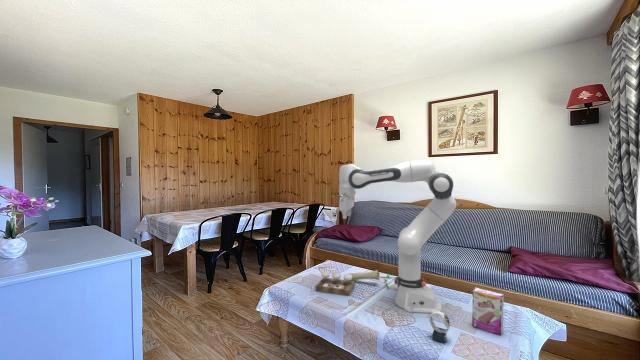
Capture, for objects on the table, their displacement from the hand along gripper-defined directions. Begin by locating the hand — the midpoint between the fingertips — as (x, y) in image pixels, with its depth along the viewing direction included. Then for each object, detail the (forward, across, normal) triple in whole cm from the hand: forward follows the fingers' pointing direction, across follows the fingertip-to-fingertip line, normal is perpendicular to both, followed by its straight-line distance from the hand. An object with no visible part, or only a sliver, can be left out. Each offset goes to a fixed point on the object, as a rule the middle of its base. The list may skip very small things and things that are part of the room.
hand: (346, 217), depth 158 cm
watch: (+43, -29, -47) cm, 70 cm away
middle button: (+38, +7, +8) cm, 39 cm away
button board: (+44, +5, +8) cm, 45 cm away
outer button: (+38, +7, +15) cm, 41 cm away
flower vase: (+44, +17, -14) cm, 49 cm away
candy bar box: (+43, -15, -67) cm, 81 cm away
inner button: (+38, +7, +1) cm, 38 cm away
